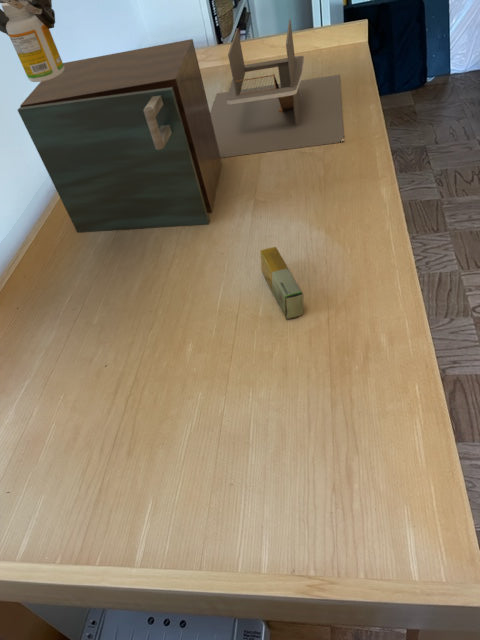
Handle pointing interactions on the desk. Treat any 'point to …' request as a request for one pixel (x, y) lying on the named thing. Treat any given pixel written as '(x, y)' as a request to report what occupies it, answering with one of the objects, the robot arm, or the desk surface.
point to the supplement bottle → (33, 44)
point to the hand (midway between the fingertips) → (31, 25)
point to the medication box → (282, 283)
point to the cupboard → (141, 75)
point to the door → (119, 160)
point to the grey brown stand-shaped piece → (276, 107)
